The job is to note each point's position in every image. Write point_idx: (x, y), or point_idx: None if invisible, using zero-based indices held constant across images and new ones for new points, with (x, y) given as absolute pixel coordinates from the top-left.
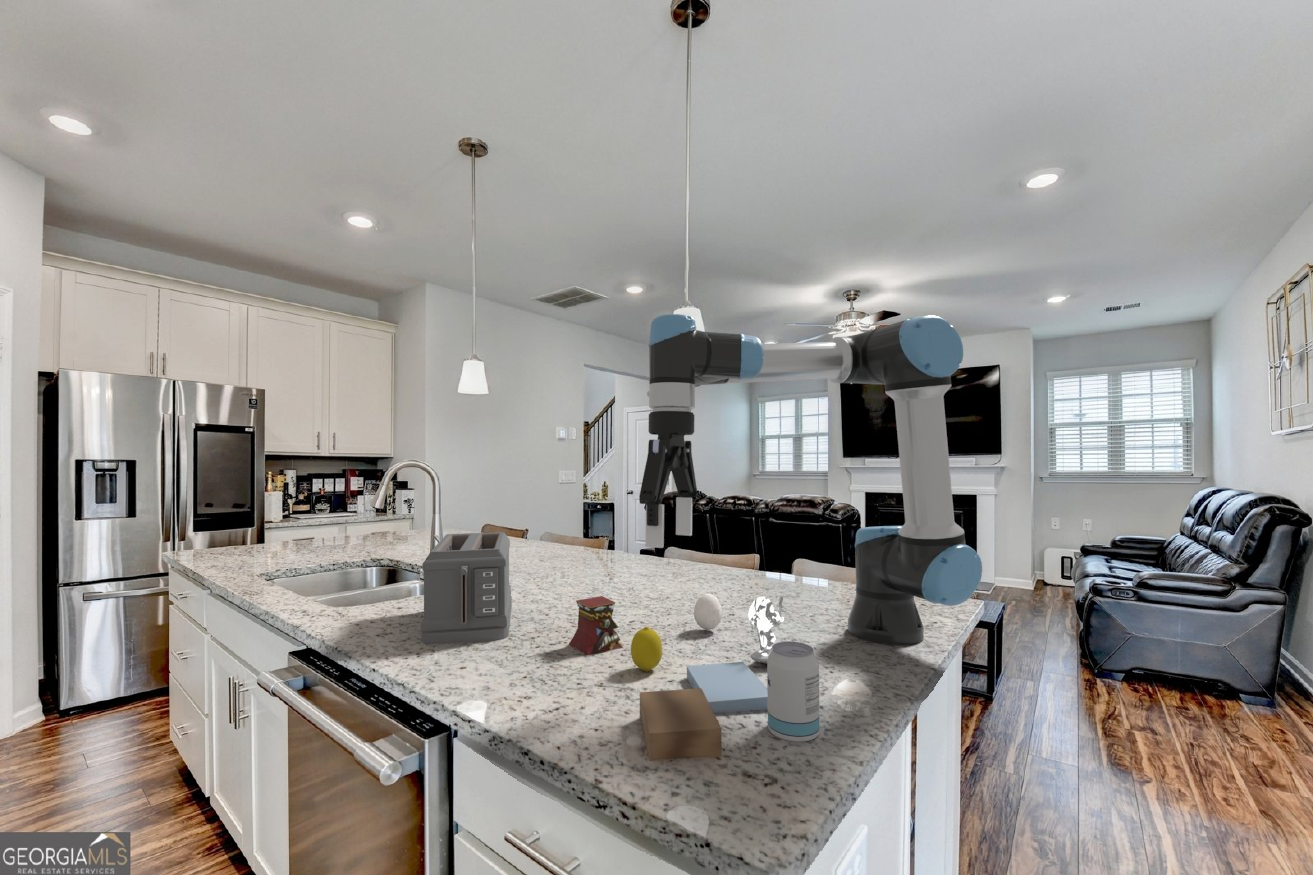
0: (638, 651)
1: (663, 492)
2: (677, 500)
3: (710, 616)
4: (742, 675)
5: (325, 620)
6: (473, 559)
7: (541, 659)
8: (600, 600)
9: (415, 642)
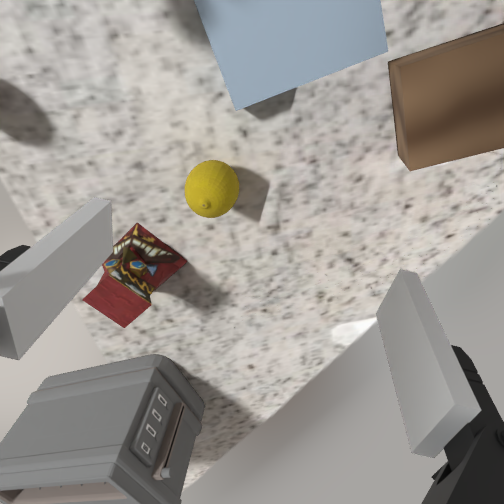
0: (236, 199)
1: (480, 478)
2: (29, 343)
3: None
4: None
5: None
6: (141, 481)
7: (208, 307)
8: (108, 297)
9: None
